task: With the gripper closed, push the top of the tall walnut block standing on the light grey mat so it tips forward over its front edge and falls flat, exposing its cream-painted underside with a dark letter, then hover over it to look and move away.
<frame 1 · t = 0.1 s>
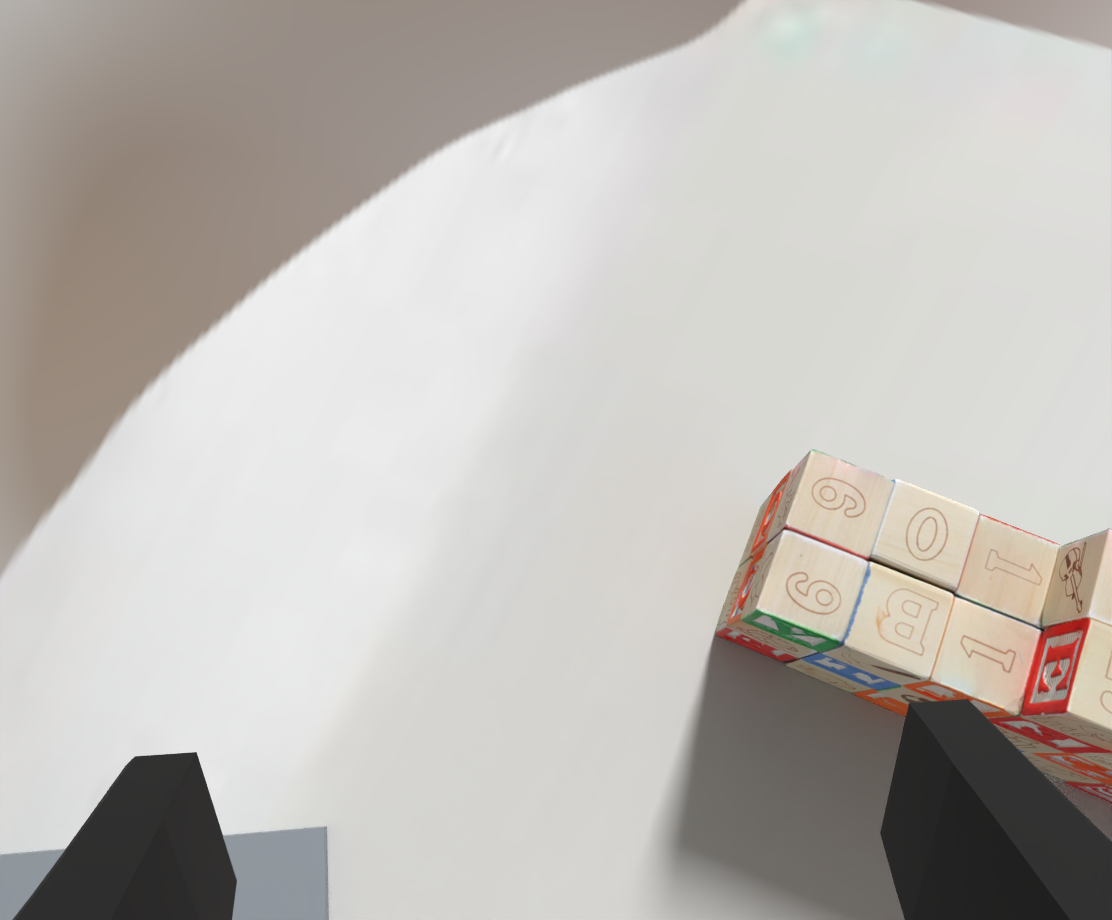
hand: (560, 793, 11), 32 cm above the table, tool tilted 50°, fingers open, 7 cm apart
stack of blocks: (974, 668, 43), on the table
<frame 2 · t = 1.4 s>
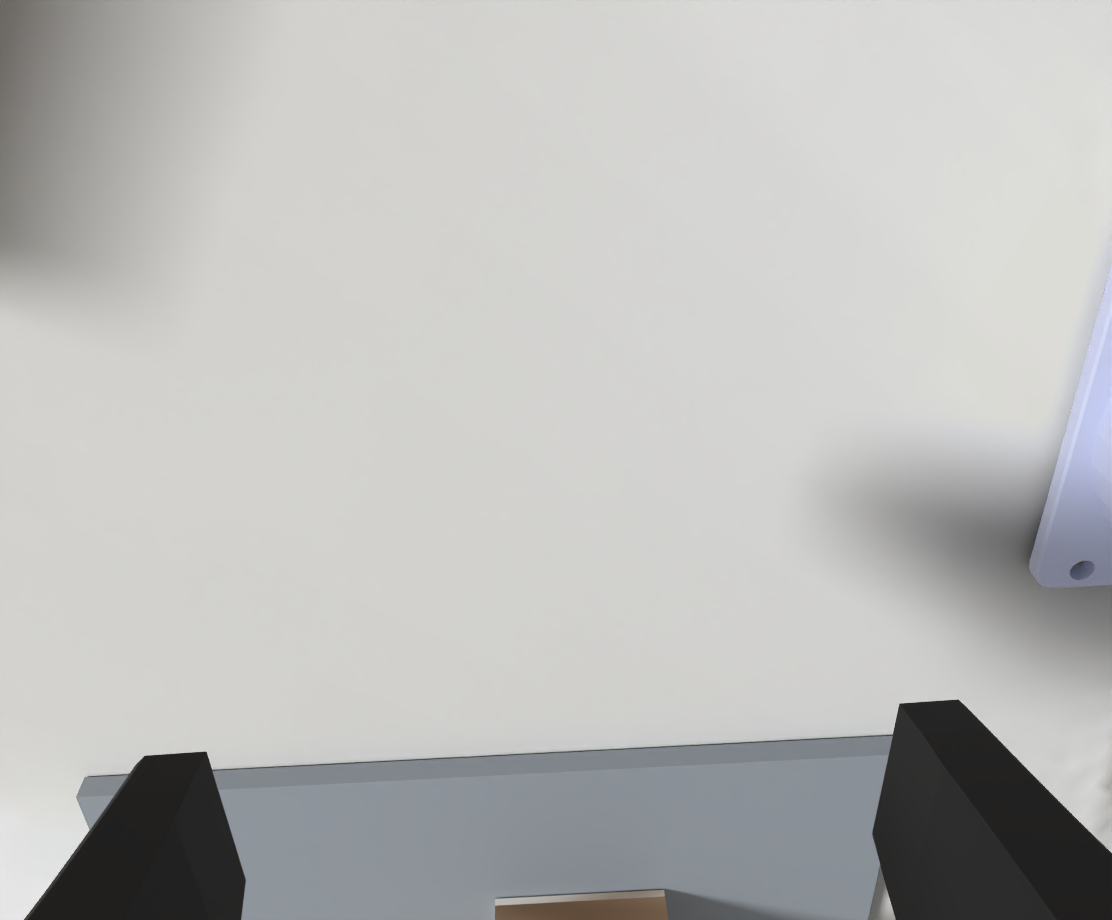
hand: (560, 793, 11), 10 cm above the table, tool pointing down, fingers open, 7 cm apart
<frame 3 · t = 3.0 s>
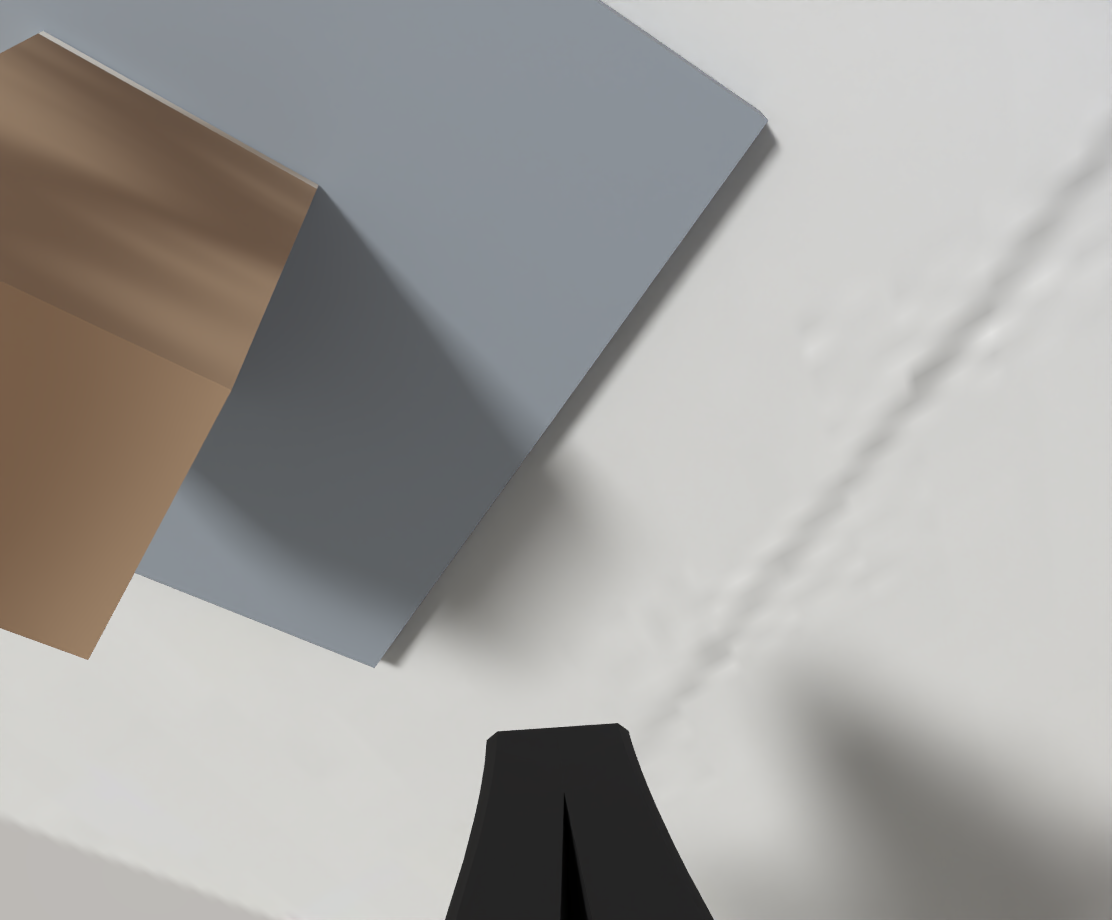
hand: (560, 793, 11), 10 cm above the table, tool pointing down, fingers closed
light grey mat: (28, 155, 17), on the table
walnut block: (135, 229, 17), point 1 cm above the table, touching light grey mat
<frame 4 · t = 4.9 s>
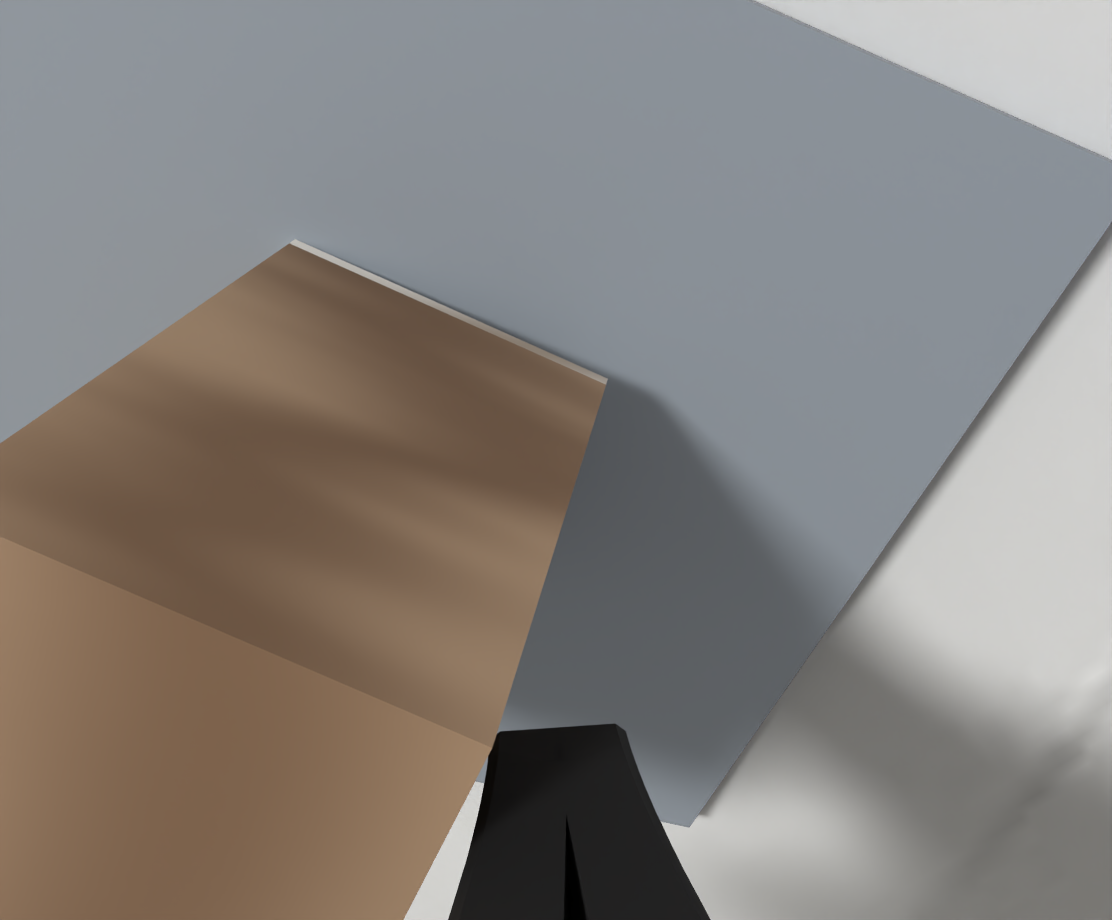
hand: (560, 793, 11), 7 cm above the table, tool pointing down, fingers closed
light grey mat: (280, 367, 15), on the table
walnut block: (401, 445, 15), point 1 cm above the table, tilted 14°, touching light grey mat
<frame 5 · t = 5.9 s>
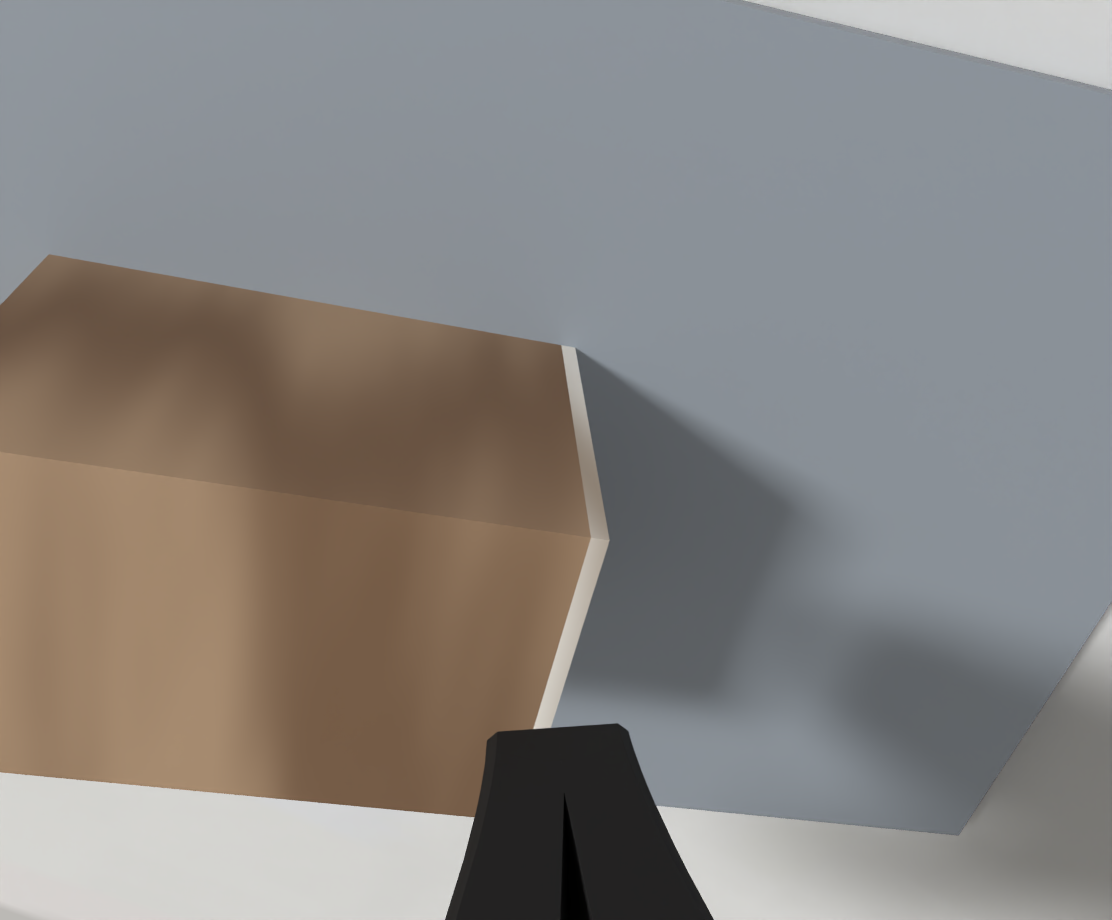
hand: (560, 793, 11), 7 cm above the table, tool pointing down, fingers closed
light grey mat: (554, 460, 16), on the table
walnut block: (549, 571, 14), point 3 cm above the table, tilted 90°, touching light grey mat
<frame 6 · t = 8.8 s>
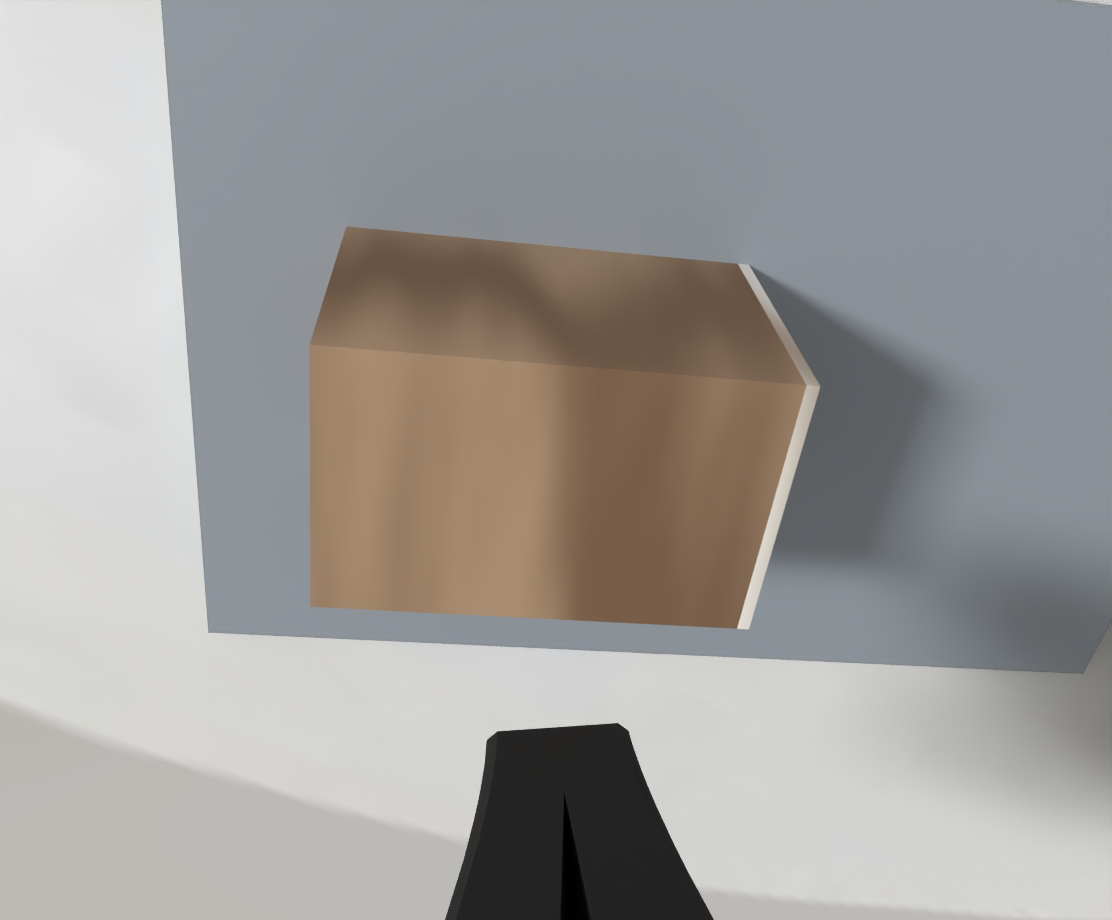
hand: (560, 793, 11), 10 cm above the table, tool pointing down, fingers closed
light grey mat: (728, 363, 20), on the table
walnut block: (748, 439, 17), point 3 cm above the table, tilted 90°, touching light grey mat
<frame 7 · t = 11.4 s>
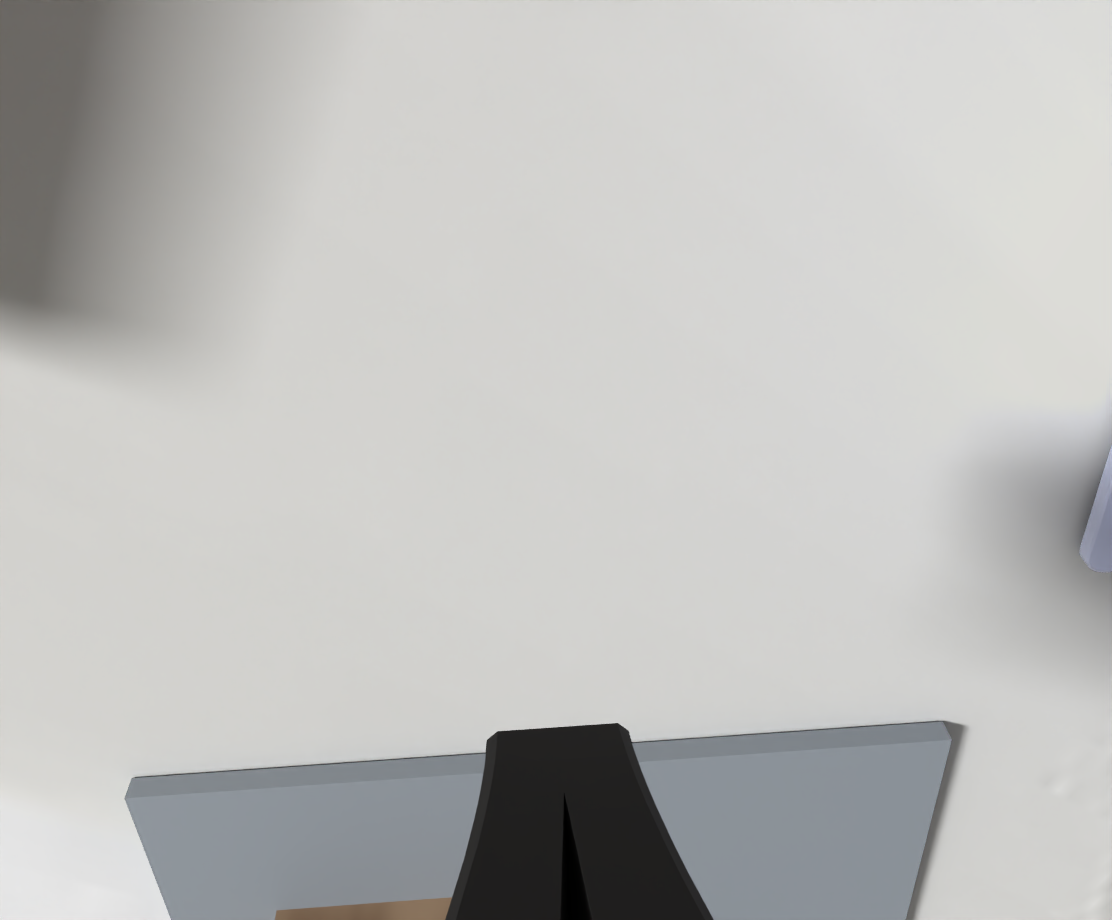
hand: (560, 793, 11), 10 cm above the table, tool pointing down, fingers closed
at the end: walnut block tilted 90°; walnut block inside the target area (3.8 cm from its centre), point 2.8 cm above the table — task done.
